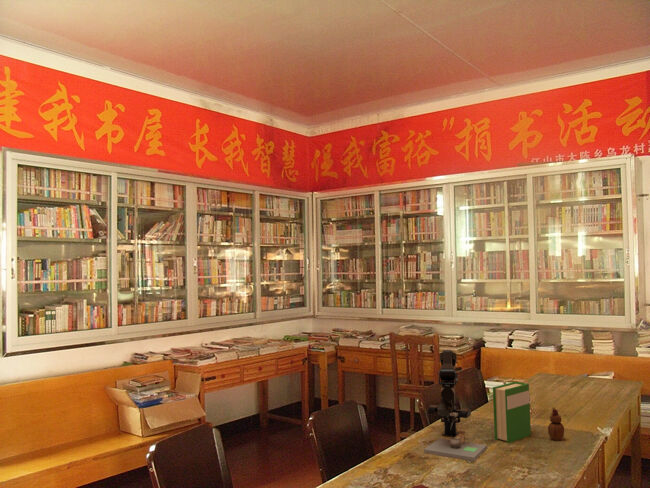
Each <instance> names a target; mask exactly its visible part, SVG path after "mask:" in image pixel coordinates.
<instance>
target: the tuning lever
mask: <svg viewBox="0 0 650 488" xmlns="http://www.w3.org/2000/svg"><path fill="white" fill-rule="evenodd" d="M458 432H459V434H458V435H457V436H455V437H451V438H450V439H449V440H450V446H451V447H454V448H459V447H461V443H462V442H466V438H465V437H466V436H465V431H464V430H459V431H458Z"/></svg>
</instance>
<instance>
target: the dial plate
mask: <svg viewBox="0 0 650 488" xmlns="http://www.w3.org/2000/svg"><path fill="white" fill-rule="evenodd" d="M487 449H488V445H487V444H482V443H476V442H467V441H464V442H462V443H461V447H459V448H454V447H451V446H450V439H449V438H442V437H438V438H437V439H436V440H434V441H433V442H432V443H430V444H429V445H427V446H426V447H425V448H424V449H423V453H424V454H428V453H429V455H434V454H435V456H440V455H441V457H447V458H453V459H459V460H464V461H470V460H471V462H475V461H476V460H477V459H478V458H480V456H481V455H482V454H484V452H485V451H486V450H487Z"/></svg>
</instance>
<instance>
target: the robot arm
mask: <svg viewBox="0 0 650 488" xmlns="http://www.w3.org/2000/svg"><path fill="white" fill-rule="evenodd" d="M438 355H439V364H440V368H439V370H438V385H439V386H440V385H441V391H440V397H441V398H440V404H431V405H429V406H428V407H427V409H426V412H427V414H429V415H430V414H431V415H434V414H435V413H438V414H437V415H438V416H439V417H440V422H441V423H443V427H444V428H443V430H444V432H442V433H441V435H442V436H444V437H446V436H447V437H451V438H455V437H456V436H457V435H459V431H457V424H459V423H461V418H463V419H468V418H469V417H471V416H472V411H471V409H470V408H462V407H461V409H458V406H457V404H456V400H457V399H456V393H455V390H456V389H455V386H456V385H457V383H458V380H459V379H458V372H457V370H455V369H456V368H457V367H456V366H457V365H456V364H457V363H458V356H457V355H458V354H457V353H456V352H454V351H453V350H451V349H444V350H442V351H441V352H440V353H439V354H438Z"/></svg>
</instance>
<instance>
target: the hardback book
mask: <svg viewBox="0 0 650 488" xmlns="http://www.w3.org/2000/svg"><path fill="white" fill-rule="evenodd" d="M492 400H493V401H492V403H493V404H492V405H493V428H494V440H495V441H498V440H502V441H506V443H507V444H512V443H514V442H516V441H519V440H520V441H521V439H522V440H523V439H525V438H527V437H531V436H532V431H531V429H532V427H531V426H532V425H531V410H530V409H531V405H530V403H531V402H530V384H529V383H524V382H519V381H513V382H509V383H504V384H501V385H497V386H493V387H492Z"/></svg>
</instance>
